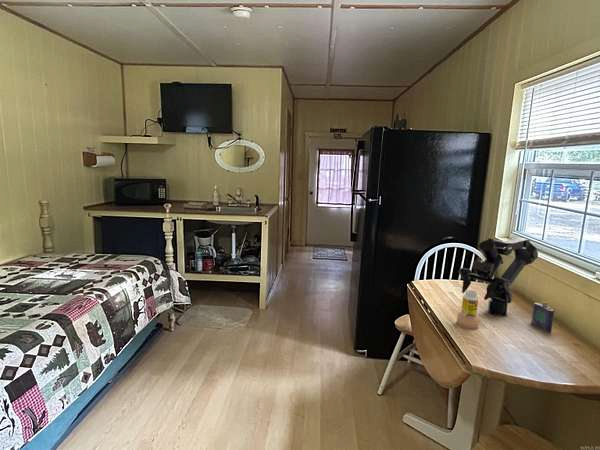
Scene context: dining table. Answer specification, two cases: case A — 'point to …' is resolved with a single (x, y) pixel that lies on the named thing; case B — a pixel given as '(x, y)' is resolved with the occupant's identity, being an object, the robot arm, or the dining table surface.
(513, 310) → the dining table surface
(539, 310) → the flask
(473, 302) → the supplement bottle
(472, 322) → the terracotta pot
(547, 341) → the dining table surface
